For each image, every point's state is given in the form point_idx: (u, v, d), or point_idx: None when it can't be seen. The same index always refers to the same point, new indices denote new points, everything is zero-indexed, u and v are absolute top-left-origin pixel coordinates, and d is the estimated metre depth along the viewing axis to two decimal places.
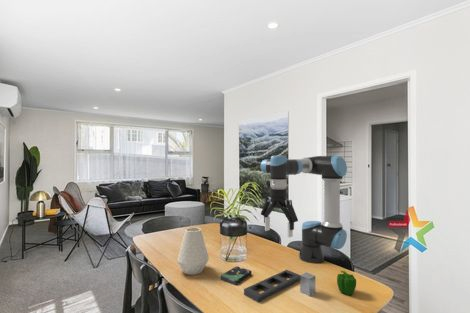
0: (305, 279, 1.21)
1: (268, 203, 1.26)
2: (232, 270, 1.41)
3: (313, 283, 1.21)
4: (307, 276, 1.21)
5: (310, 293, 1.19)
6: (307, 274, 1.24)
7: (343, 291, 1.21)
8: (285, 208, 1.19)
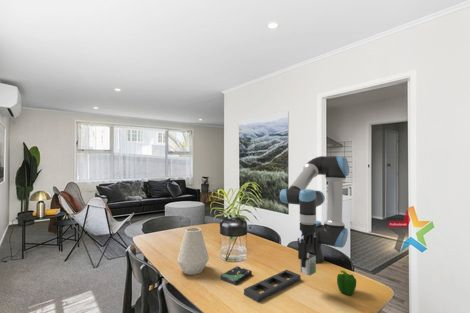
0: None
1: (313, 239, 1.26)
2: (232, 270, 1.42)
3: (313, 263, 1.22)
4: (307, 256, 1.22)
5: (310, 272, 1.20)
6: (307, 254, 1.24)
7: (343, 291, 1.21)
8: (304, 244, 1.21)
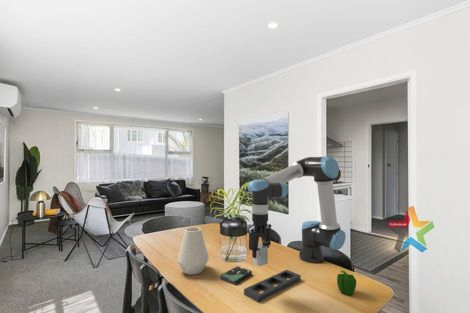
0: None
1: (267, 230, 1.24)
2: (232, 270, 1.42)
3: (265, 253, 1.20)
4: (259, 247, 1.20)
5: (261, 263, 1.18)
6: (260, 245, 1.22)
7: (343, 291, 1.21)
8: (255, 235, 1.19)
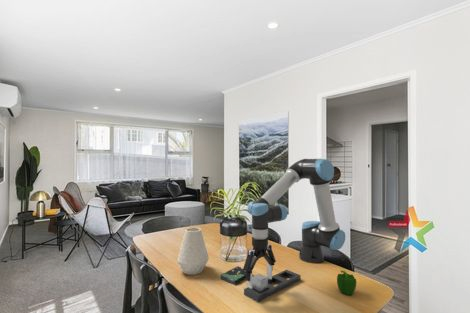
0: (256, 280, 1.19)
1: (268, 251, 1.25)
2: (233, 270, 1.42)
3: (265, 284, 1.20)
4: (259, 277, 1.20)
5: None
6: (260, 275, 1.22)
7: (343, 291, 1.21)
8: (253, 258, 1.18)
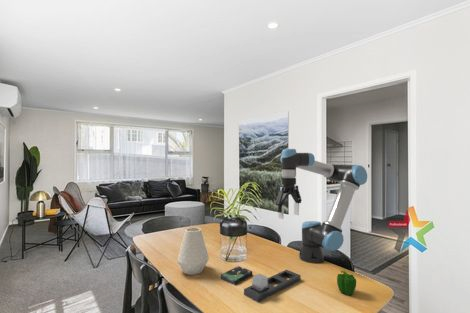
0: (256, 280, 1.19)
1: (295, 191, 1.45)
2: (233, 270, 1.42)
3: (265, 284, 1.20)
4: (259, 277, 1.20)
5: None
6: (259, 275, 1.22)
7: (343, 291, 1.21)
8: (284, 194, 1.38)
